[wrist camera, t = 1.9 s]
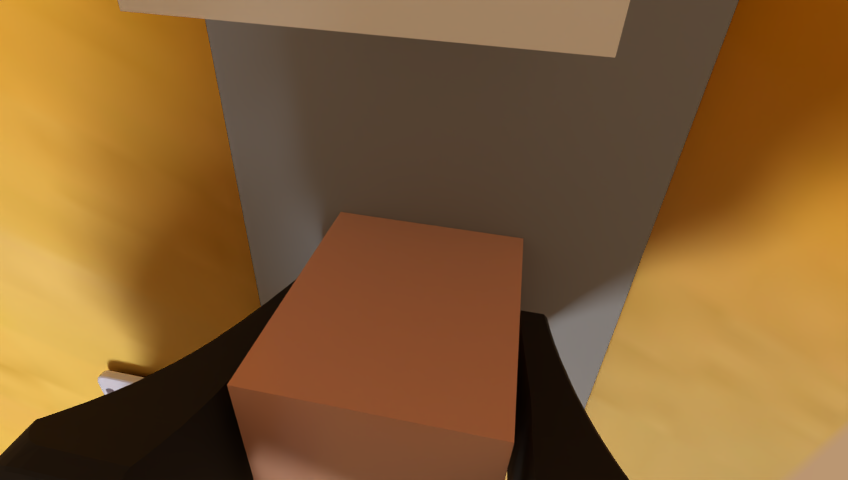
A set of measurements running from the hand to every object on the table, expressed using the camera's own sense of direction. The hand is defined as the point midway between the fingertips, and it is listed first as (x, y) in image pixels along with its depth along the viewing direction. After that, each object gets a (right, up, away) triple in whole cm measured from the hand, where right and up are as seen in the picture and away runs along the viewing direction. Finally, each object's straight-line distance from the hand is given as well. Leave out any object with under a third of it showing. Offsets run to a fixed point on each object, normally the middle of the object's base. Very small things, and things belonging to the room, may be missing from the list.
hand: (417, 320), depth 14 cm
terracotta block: (0, +1, +1) cm, 1 cm away
